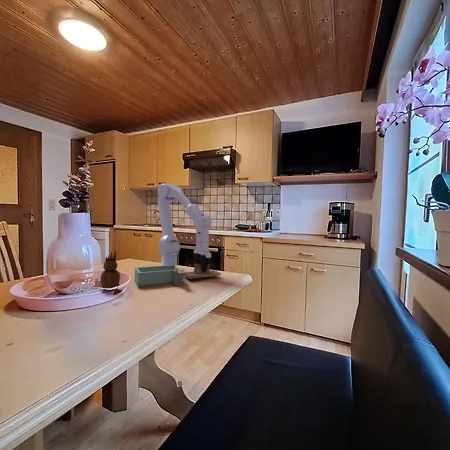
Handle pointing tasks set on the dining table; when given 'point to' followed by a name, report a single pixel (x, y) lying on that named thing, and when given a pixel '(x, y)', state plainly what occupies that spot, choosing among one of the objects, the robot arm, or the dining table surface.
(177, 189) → the robot arm
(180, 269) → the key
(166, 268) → the green rectangular open box
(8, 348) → the dining table surface
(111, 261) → the wooden figurine
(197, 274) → the lid
